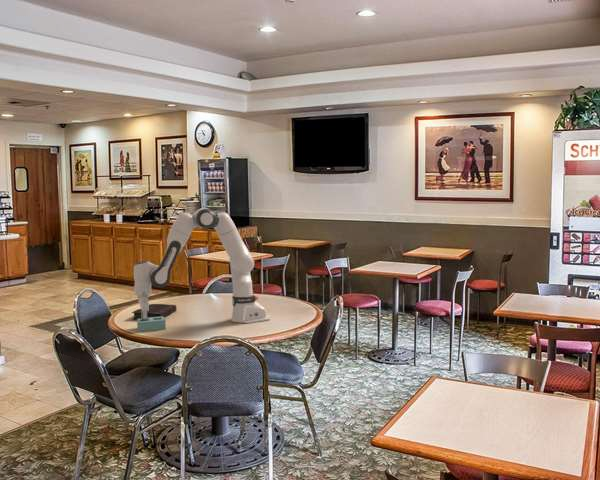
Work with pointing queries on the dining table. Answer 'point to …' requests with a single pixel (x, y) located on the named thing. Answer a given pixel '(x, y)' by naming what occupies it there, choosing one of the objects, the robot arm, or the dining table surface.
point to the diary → (156, 311)
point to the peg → (142, 316)
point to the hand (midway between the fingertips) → (144, 316)
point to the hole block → (151, 324)
